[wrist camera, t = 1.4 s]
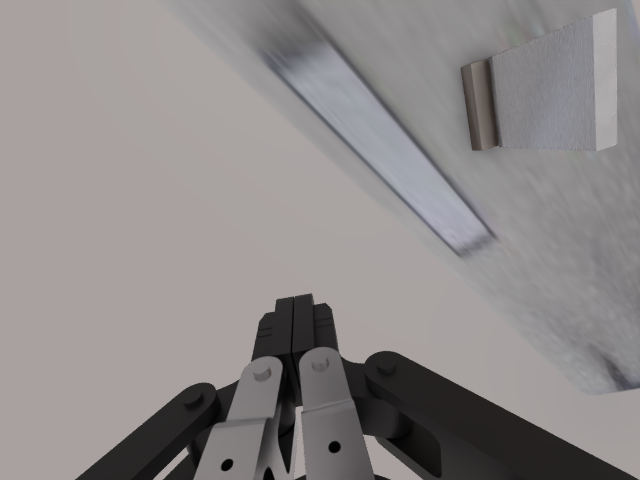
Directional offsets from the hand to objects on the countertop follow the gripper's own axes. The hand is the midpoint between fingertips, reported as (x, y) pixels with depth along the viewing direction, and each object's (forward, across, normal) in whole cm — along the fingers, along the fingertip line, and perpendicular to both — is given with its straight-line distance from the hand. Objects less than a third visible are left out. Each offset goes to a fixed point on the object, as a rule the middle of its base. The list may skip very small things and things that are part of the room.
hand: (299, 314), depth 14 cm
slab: (+24, +22, +6) cm, 33 cm away
